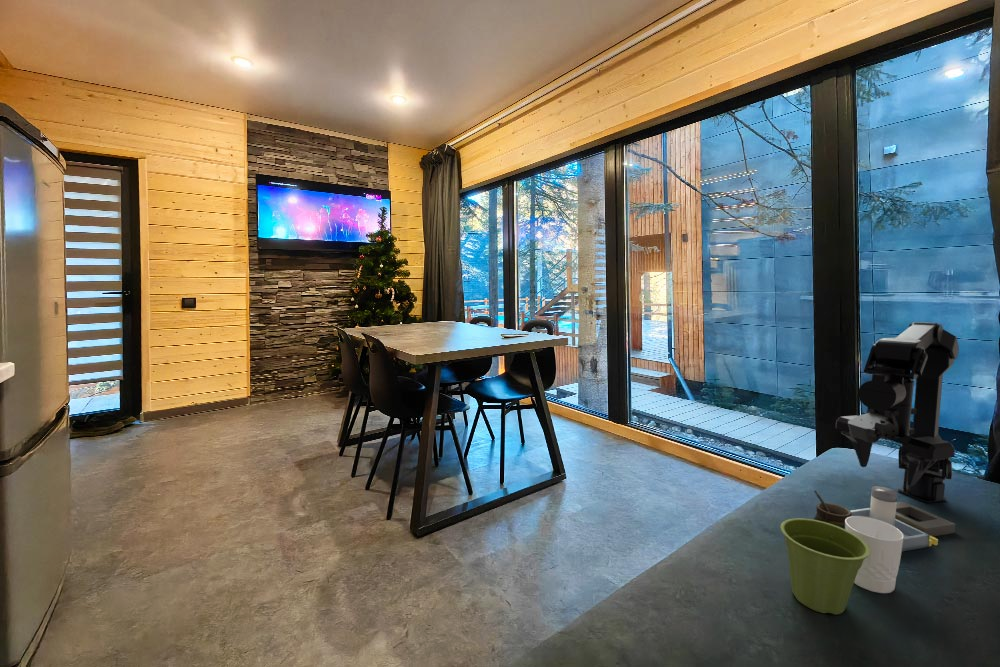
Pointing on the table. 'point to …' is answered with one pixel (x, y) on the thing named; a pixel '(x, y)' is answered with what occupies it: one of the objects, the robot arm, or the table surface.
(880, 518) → the cylinder
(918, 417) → the robot arm
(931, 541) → the puller tool
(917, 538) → the tray
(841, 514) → the mate gourd
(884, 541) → the white cup
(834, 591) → the plant pot
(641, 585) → the table surface
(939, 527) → the frame
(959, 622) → the table surface
